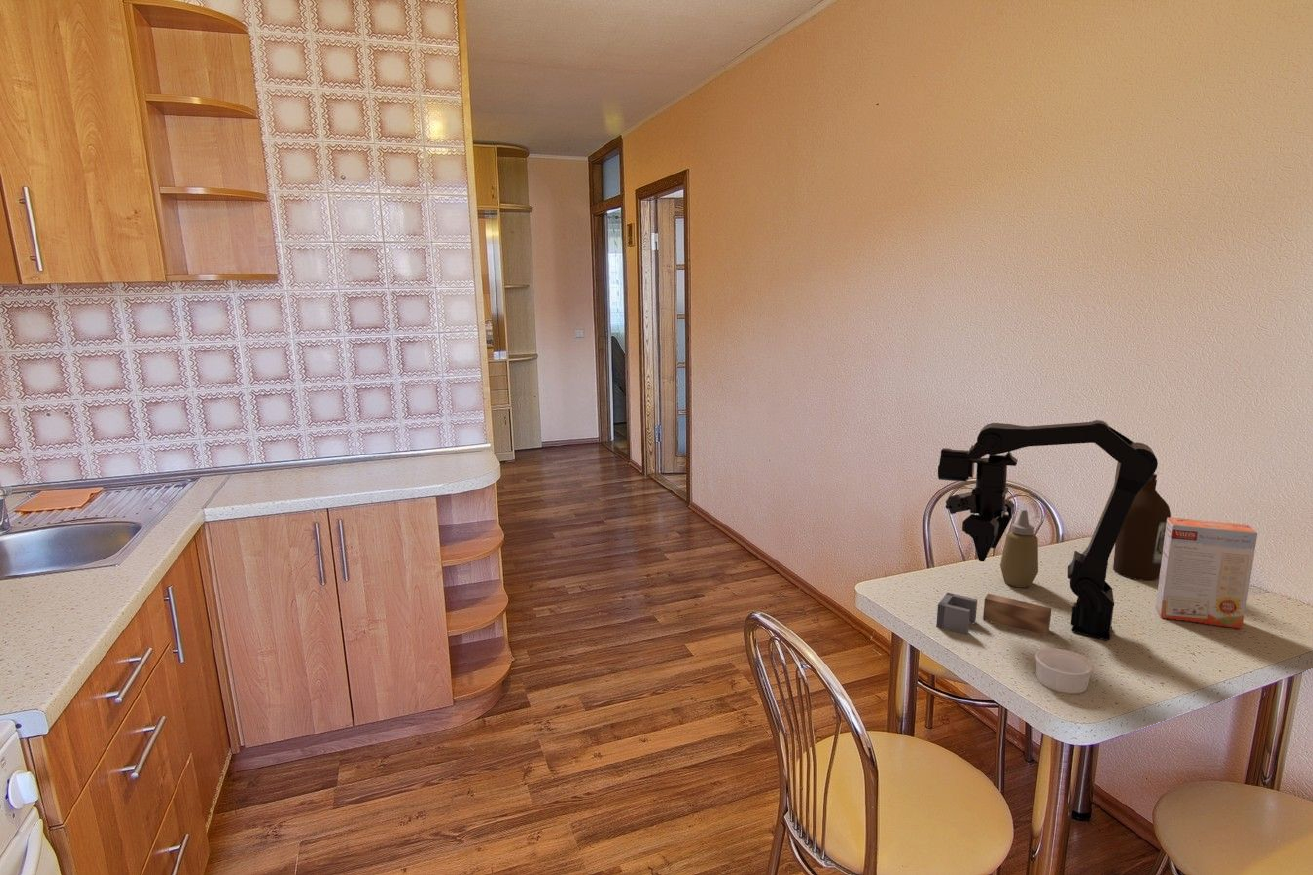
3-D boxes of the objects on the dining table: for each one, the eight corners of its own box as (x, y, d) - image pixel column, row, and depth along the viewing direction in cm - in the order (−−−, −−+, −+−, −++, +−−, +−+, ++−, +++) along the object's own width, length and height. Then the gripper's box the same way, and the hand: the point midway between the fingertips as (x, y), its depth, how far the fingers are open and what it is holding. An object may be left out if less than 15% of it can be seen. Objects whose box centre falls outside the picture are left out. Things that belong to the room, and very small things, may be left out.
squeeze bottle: (1038, 580, 168) (1045, 508, 165) (1034, 592, 162) (1042, 518, 158) (1000, 573, 173) (1007, 503, 169) (996, 585, 166) (1002, 512, 162)
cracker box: (1233, 618, 148) (1249, 523, 144) (1242, 630, 143) (1259, 532, 139) (1153, 606, 154) (1166, 515, 150) (1159, 618, 149) (1173, 523, 144)
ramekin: (1066, 701, 120) (1069, 678, 119) (1021, 675, 128) (1024, 654, 127) (1101, 689, 123) (1104, 666, 122) (1055, 665, 131) (1058, 643, 130)
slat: (1049, 630, 145) (1051, 607, 144) (1046, 636, 142) (1049, 613, 141) (986, 615, 152) (988, 593, 151) (982, 620, 149) (984, 598, 148)
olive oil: (1104, 573, 172) (1117, 474, 167) (1116, 561, 179) (1128, 465, 174) (1156, 585, 165) (1171, 482, 160) (1166, 572, 172) (1181, 473, 167)
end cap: (975, 621, 148) (977, 599, 147) (966, 634, 143) (968, 611, 142) (945, 614, 152) (947, 592, 151) (936, 626, 146) (937, 604, 145)
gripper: (963, 469, 160) (960, 535, 163) (937, 489, 146) (934, 560, 149) (1017, 475, 153) (1013, 544, 156) (995, 496, 139) (991, 571, 142)
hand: (987, 554), depth 151 cm, fingers open, 9 cm apart
